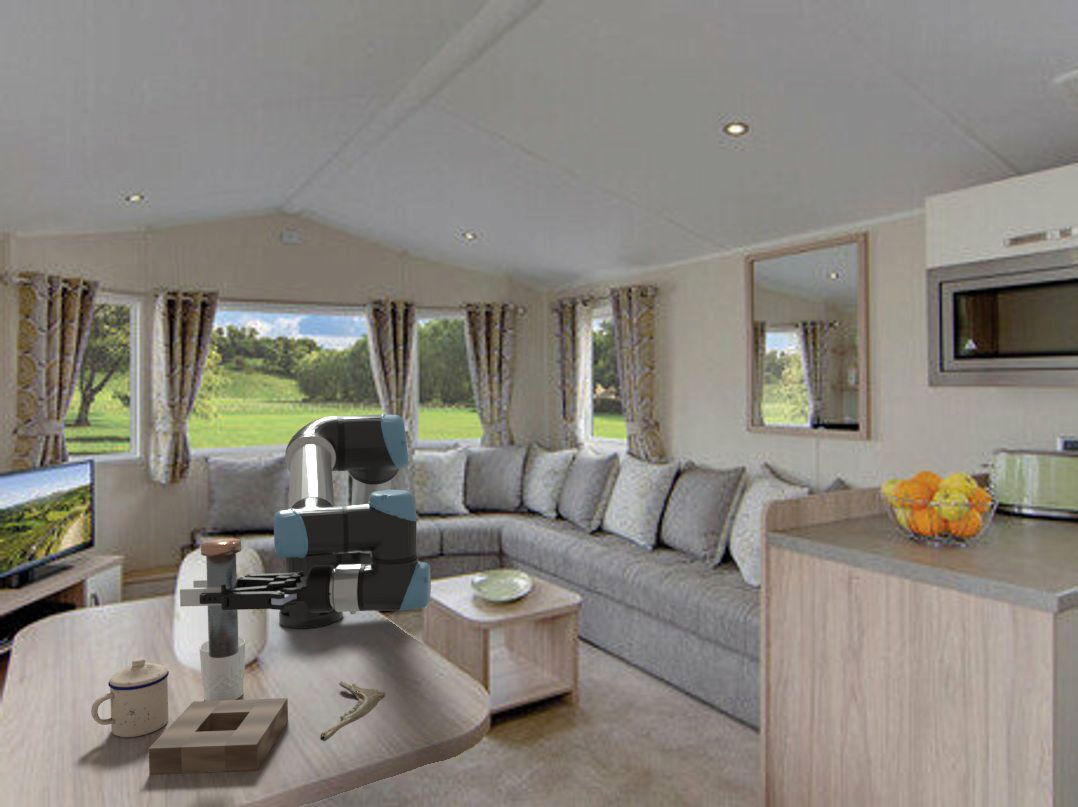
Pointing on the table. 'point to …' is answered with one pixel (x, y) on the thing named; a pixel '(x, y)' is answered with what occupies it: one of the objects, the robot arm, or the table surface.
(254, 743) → the socket block
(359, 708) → the jawbone
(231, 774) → the table surface
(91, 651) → the table surface
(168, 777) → the table surface
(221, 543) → the metal pin
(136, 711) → the teacup with lid
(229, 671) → the white cup
